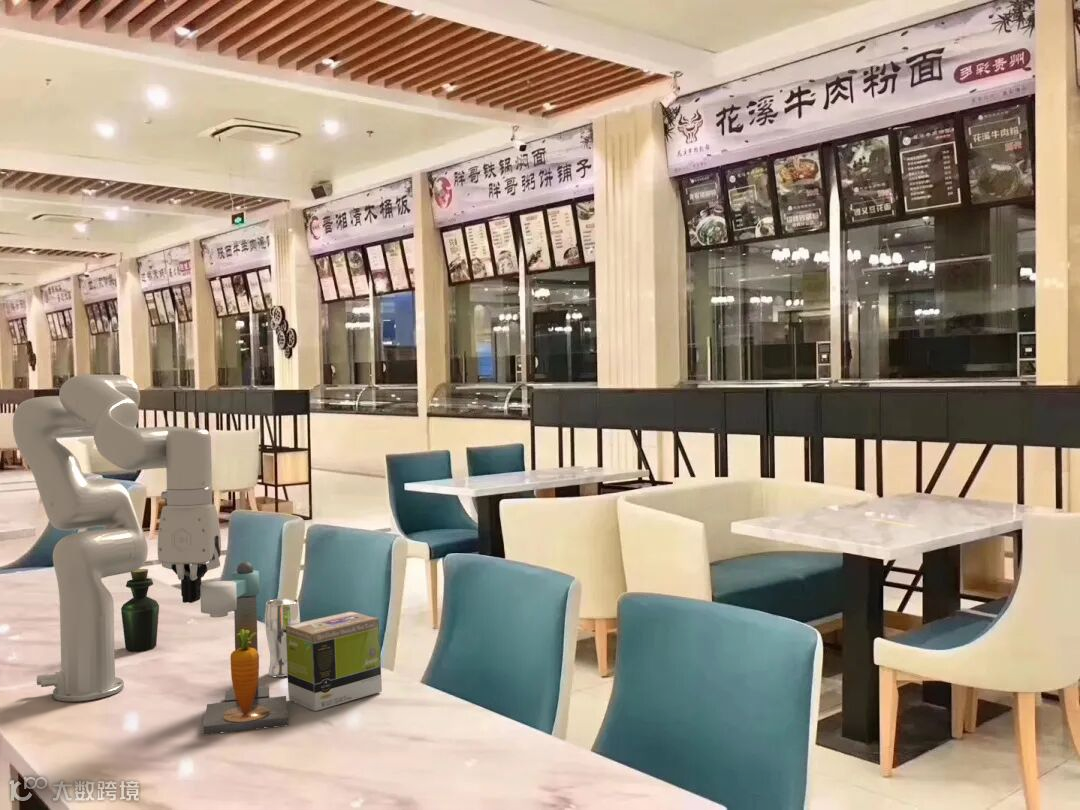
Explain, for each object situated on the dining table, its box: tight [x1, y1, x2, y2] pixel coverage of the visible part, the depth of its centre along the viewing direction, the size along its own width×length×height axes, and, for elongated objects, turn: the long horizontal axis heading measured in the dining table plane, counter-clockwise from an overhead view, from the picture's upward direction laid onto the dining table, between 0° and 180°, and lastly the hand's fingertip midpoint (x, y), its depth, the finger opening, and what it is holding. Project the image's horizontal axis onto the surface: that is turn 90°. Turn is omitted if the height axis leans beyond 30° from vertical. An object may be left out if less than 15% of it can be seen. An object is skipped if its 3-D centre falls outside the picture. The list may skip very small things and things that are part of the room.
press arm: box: [200, 561, 260, 619], centre depth 170 cm, size 18×6×7 cm, turn 176°
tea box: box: [286, 611, 383, 712], centre depth 178 cm, size 15×10×15 cm, turn 134°
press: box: [202, 594, 289, 735], centre depth 170 cm, size 14×19×20 cm
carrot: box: [230, 629, 260, 713], centre depth 165 cm, size 5×5×15 cm
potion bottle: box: [120, 568, 160, 653], centre depth 215 cm, size 8×8×18 cm
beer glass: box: [264, 597, 301, 678], centre depth 194 cm, size 7×7×15 cm
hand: (191, 600), depth 165 cm, fingers closed
